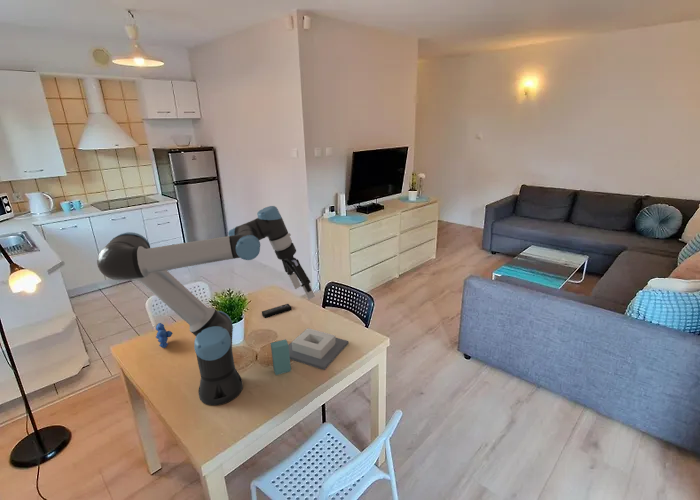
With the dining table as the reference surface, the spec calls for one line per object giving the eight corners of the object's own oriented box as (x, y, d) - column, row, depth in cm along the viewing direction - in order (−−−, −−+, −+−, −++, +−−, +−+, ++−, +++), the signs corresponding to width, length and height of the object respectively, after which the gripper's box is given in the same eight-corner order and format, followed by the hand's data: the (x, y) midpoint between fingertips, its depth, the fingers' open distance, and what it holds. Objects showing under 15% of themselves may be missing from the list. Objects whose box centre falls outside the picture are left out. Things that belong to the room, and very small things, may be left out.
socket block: (324, 370, 143) (323, 358, 142) (279, 355, 153) (277, 344, 151) (348, 343, 160) (348, 332, 158) (306, 331, 170) (305, 321, 168)
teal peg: (291, 371, 144) (288, 344, 140) (275, 375, 141) (272, 348, 137) (288, 365, 147) (285, 339, 143) (273, 369, 145) (270, 343, 141)
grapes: (176, 351, 158) (171, 327, 154) (159, 356, 155) (153, 331, 151) (174, 338, 168) (169, 315, 164) (157, 342, 165) (152, 319, 161)
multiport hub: (291, 310, 190) (291, 306, 189) (265, 319, 183) (264, 314, 182) (288, 307, 193) (288, 303, 193) (261, 315, 186) (261, 311, 185)
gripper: (305, 248, 128) (326, 297, 137) (280, 235, 149) (300, 279, 158) (286, 258, 126) (309, 308, 134) (264, 244, 147) (285, 288, 155)
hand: (304, 292), depth 146 cm, fingers open, 13 cm apart
